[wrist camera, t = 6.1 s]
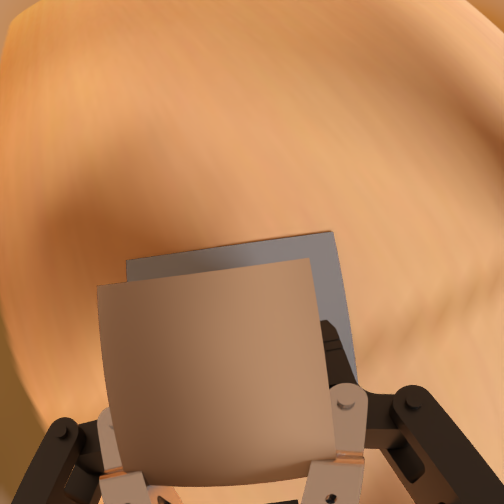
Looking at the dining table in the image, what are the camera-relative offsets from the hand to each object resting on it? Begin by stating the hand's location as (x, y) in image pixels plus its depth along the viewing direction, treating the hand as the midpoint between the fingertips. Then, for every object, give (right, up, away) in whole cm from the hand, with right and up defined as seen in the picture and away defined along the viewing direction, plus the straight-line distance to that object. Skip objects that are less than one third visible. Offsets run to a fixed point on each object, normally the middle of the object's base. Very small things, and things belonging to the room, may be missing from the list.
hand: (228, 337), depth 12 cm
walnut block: (0, -2, +4) cm, 5 cm away
